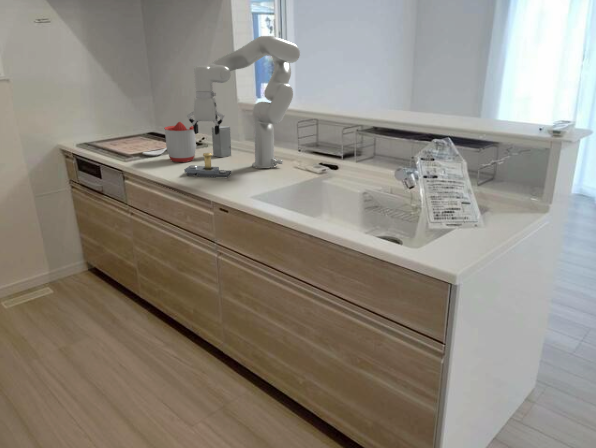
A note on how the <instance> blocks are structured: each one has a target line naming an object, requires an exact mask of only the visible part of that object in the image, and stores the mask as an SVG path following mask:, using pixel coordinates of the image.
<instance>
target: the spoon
mask: <svg viewBox="0 0 596 448" xmlns="http://www.w3.org/2000/svg"><path fill="white" fill-rule="evenodd" d="M197 146H198V144H196V147H197ZM165 151H167V147H164V148H162V149H161V148H160V149H158V150H152V151H142V155H146V156H150V157H156V156H157V157H158V156H160V155H162V154H163V153H165Z"/></svg>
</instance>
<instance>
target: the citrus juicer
mask: <svg viewBox="0 0 596 448" xmlns="http://www.w3.org/2000/svg"><path fill="white" fill-rule="evenodd" d="M164 134H165V145H166V146H165V148H167V150H166V151H167V155H168V157H169V159H170V161H171V162H176V163H177V162H178V163H187V162H191V161H193V160H194V158H195V155H196V149H197V146H196V145H197V144H196V143H197V139H196V134H195V132H194V128H193V125H191V126H190V127H189V129H187V127H186V126H185V125H184V123H183V122H181V121H178V122H177V123H176V124H175V125H169V126H165V127H164Z"/></svg>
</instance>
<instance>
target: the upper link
mask: <svg viewBox="0 0 596 448" xmlns="http://www.w3.org/2000/svg"><path fill="white" fill-rule="evenodd" d="M219 167H220V166H211V170H205V165H194V164H192V165H188V166H187V167H186V168H184V172H183V173H186V176H187V177H190V176H191V177H197V173H201V174H215V173H216V172H217V171H218V170H220V168H219Z"/></svg>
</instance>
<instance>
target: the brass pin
mask: <svg viewBox="0 0 596 448" xmlns="http://www.w3.org/2000/svg"><path fill="white" fill-rule="evenodd" d="M212 153H213V152H212ZM212 153H211V152H203V153H202V156H203V157H204V158H203V159H204V166H205V170H211V167H212V156H213V154H212Z"/></svg>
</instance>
